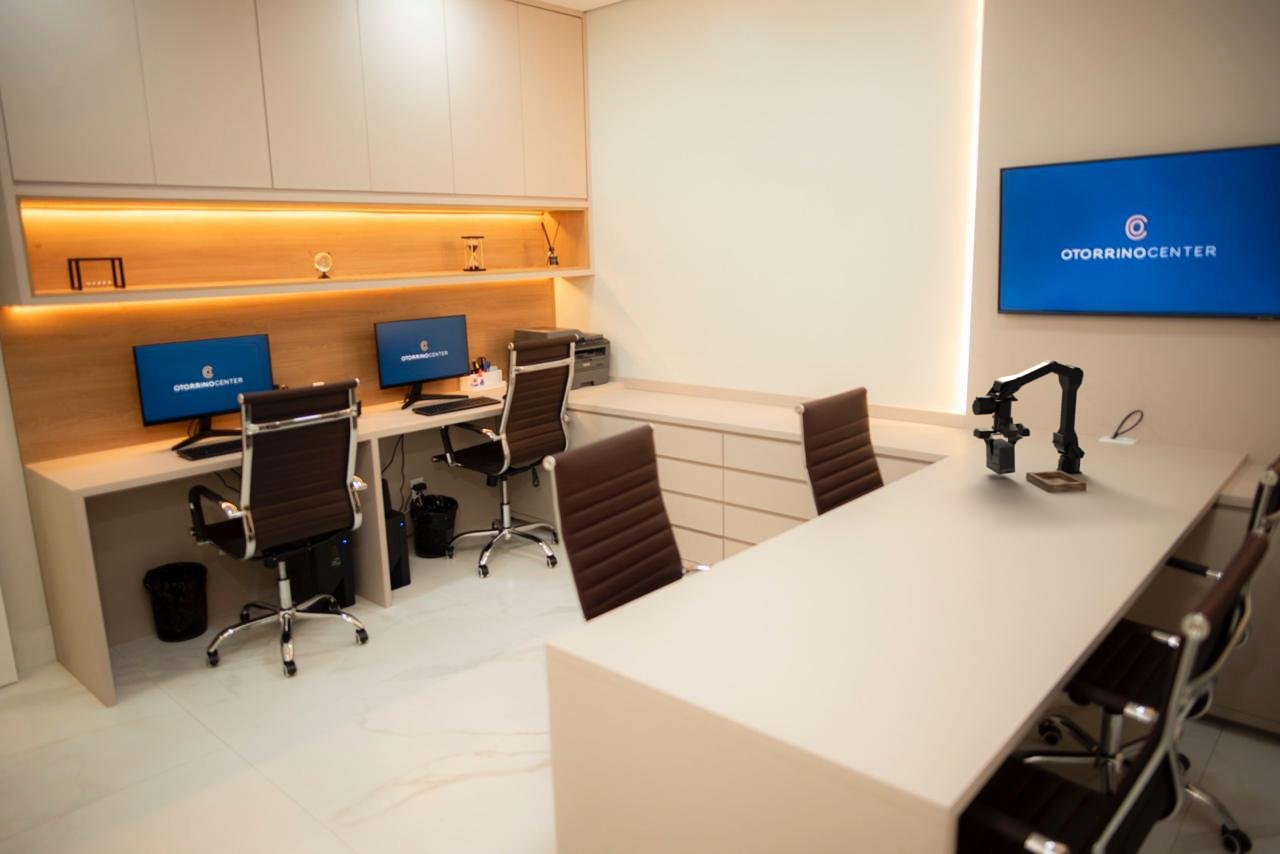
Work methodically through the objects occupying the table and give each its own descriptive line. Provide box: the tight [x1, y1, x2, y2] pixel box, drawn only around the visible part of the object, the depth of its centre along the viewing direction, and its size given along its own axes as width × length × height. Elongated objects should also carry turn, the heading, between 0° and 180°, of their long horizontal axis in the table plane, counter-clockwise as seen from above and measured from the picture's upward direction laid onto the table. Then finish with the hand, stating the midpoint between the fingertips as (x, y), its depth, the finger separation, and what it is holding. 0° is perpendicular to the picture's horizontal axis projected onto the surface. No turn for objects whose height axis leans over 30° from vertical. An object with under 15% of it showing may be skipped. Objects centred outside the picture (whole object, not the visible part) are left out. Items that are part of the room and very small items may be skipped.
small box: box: [985, 438, 1016, 476], centre depth 312 cm, size 11×6×10 cm, turn 4°
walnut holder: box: [1025, 470, 1087, 493], centre depth 301 cm, size 13×16×3 cm
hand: (1000, 455), depth 311 cm, fingers closed on small box, 6 cm apart
